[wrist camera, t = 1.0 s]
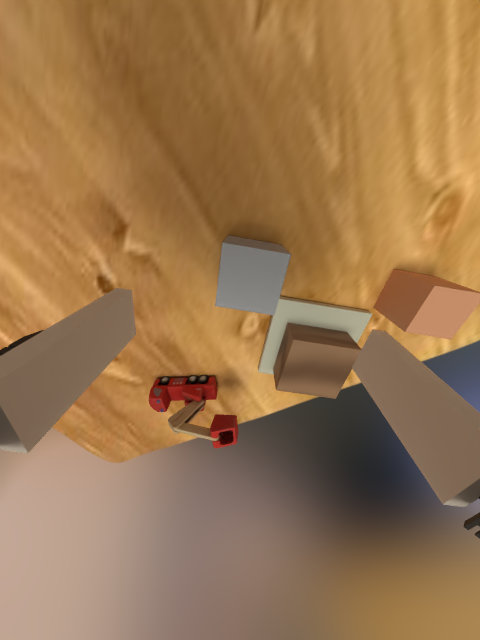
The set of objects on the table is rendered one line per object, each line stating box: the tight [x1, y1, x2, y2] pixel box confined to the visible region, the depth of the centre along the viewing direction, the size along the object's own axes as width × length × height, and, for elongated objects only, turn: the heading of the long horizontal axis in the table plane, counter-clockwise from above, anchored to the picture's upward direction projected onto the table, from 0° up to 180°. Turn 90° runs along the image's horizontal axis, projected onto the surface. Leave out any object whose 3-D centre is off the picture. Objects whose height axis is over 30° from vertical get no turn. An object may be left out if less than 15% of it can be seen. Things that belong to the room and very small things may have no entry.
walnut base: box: [273, 322, 362, 398], centre depth 27 cm, size 8×8×4 cm
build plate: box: [258, 296, 372, 374], centre depth 28 cm, size 12×12×1 cm
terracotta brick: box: [374, 269, 480, 339], centre depth 22 cm, size 5×5×6 cm
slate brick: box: [215, 235, 291, 315], centre depth 22 cm, size 6×6×6 cm
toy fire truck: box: [149, 375, 238, 448], centre depth 29 cm, size 3×14×10 cm, turn 94°
